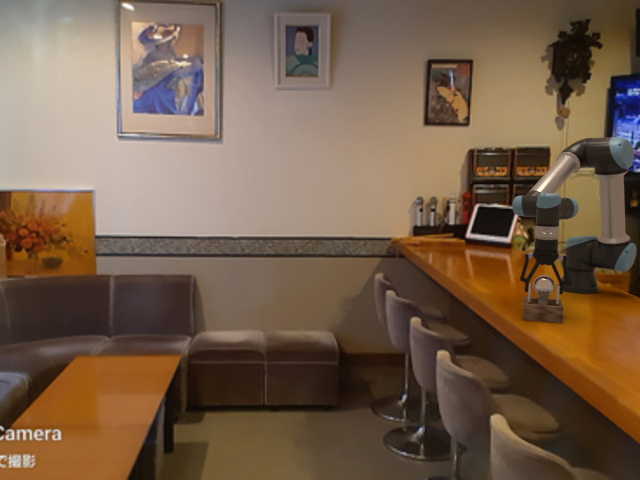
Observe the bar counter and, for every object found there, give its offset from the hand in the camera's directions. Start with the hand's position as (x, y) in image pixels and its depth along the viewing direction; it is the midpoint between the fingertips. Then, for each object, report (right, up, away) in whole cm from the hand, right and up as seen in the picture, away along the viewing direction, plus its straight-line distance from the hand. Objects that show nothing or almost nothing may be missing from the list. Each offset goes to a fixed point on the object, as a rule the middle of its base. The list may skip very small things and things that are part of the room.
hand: (542, 302), depth 207 cm
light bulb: (0, -3, 0) cm, 3 cm away
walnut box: (0, -5, +1) cm, 5 cm away
